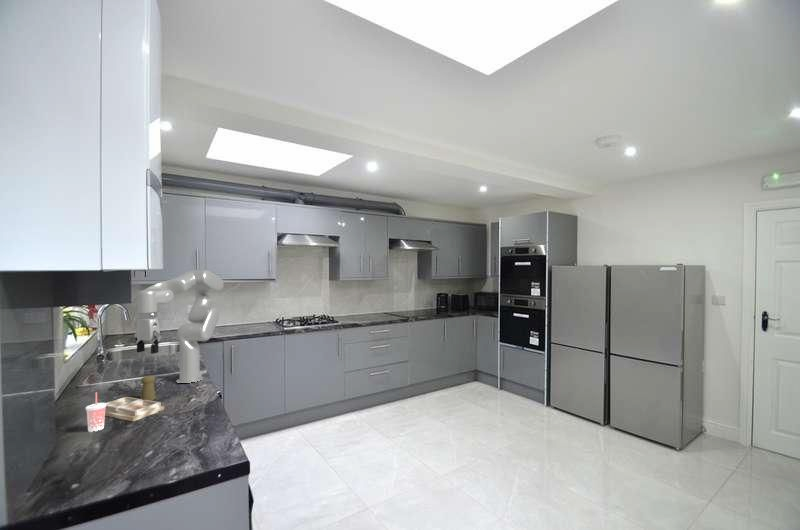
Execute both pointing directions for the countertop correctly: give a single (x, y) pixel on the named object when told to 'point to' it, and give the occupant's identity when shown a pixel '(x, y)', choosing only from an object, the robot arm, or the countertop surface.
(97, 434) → the countertop surface
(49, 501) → the countertop surface
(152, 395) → the cork
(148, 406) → the spice holder
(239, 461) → the countertop surface
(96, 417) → the beverage cup
